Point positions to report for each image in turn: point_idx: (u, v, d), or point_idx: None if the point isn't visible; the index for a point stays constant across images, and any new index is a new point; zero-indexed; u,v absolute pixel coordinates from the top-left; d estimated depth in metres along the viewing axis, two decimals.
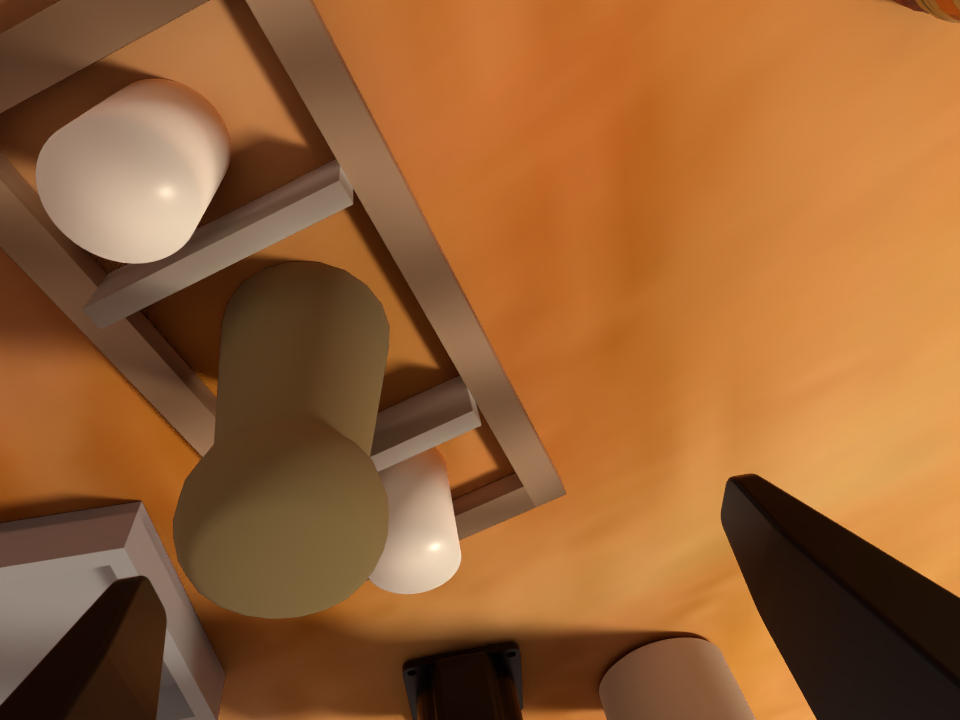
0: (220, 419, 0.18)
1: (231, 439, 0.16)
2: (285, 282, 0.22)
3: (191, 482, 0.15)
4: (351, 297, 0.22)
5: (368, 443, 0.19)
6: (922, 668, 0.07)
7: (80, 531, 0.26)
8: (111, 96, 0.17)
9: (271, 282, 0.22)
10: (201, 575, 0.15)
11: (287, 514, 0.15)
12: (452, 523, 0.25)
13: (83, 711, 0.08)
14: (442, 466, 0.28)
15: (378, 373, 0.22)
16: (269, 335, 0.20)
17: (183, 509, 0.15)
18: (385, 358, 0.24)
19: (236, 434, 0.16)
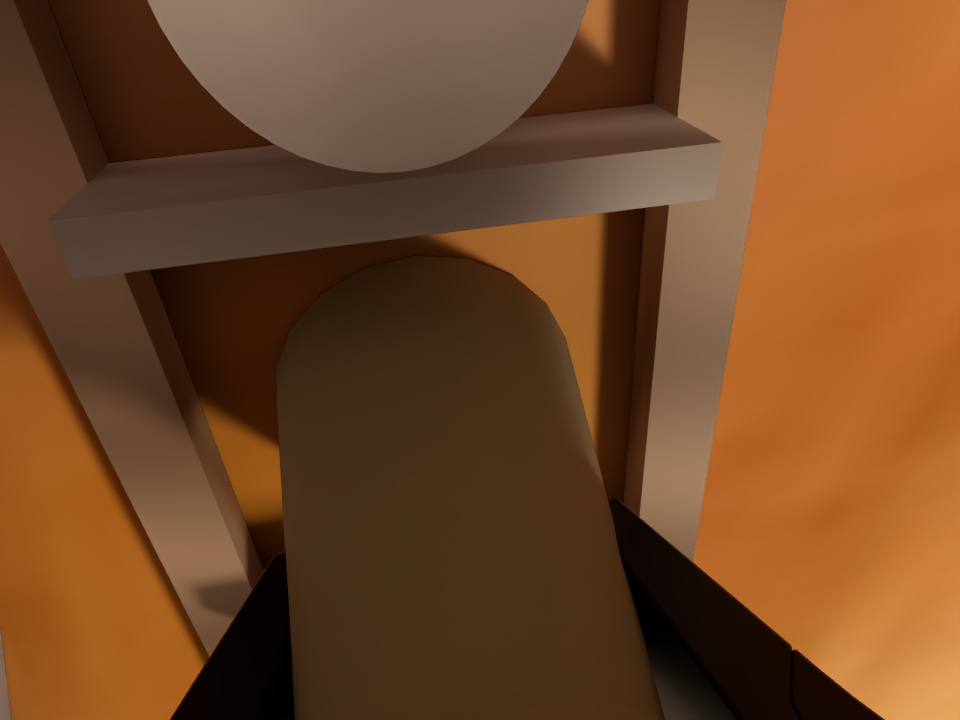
0: (354, 608, 0.07)
1: None
2: (469, 297, 0.11)
3: None
4: (565, 358, 0.12)
5: None
6: (722, 708, 0.07)
7: None
8: None
9: (439, 288, 0.11)
10: None
11: None
12: None
13: (280, 674, 0.08)
14: None
15: None
16: (468, 410, 0.09)
17: None
18: None
19: None
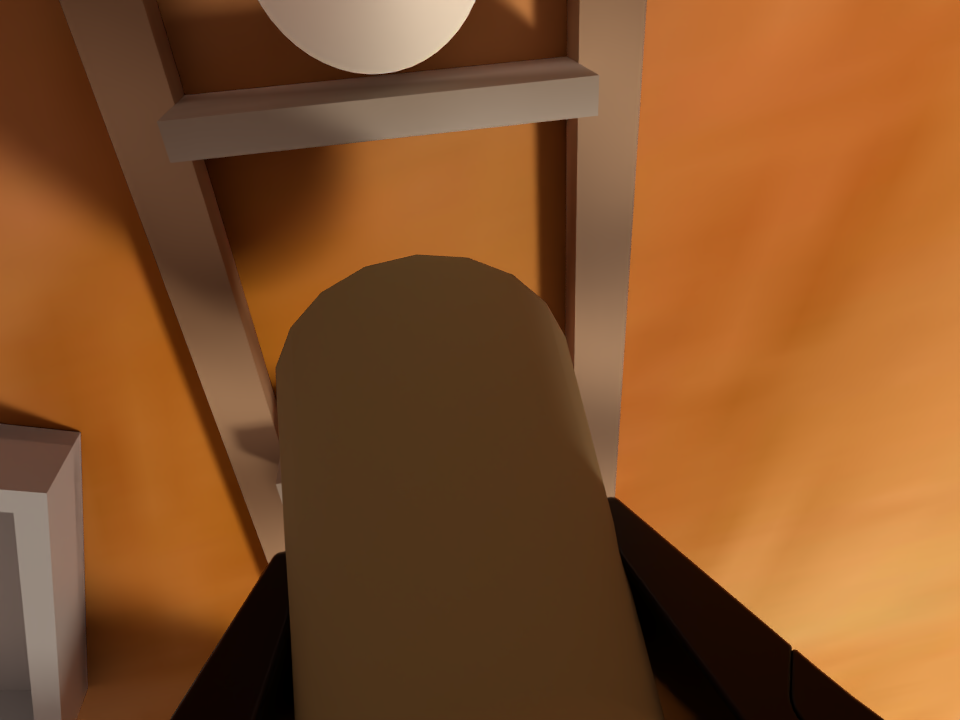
0: (354, 606, 0.07)
1: None
2: (469, 296, 0.11)
3: None
4: (565, 358, 0.12)
5: None
6: (722, 708, 0.07)
7: None
8: None
9: (439, 287, 0.11)
10: None
11: None
12: None
13: (280, 674, 0.08)
14: None
15: None
16: (468, 409, 0.09)
17: None
18: None
19: None
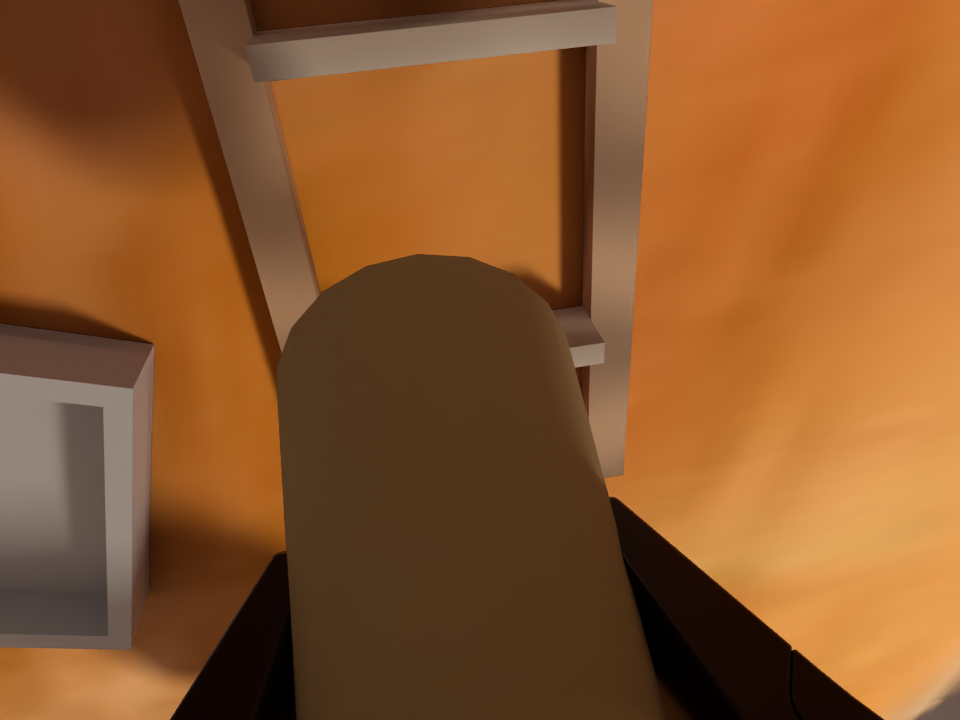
0: (355, 606, 0.07)
1: None
2: (470, 296, 0.11)
3: None
4: (566, 357, 0.12)
5: None
6: (722, 709, 0.07)
7: (71, 355, 0.20)
8: None
9: (440, 287, 0.11)
10: None
11: None
12: None
13: (280, 675, 0.08)
14: None
15: None
16: (469, 408, 0.09)
17: None
18: None
19: None
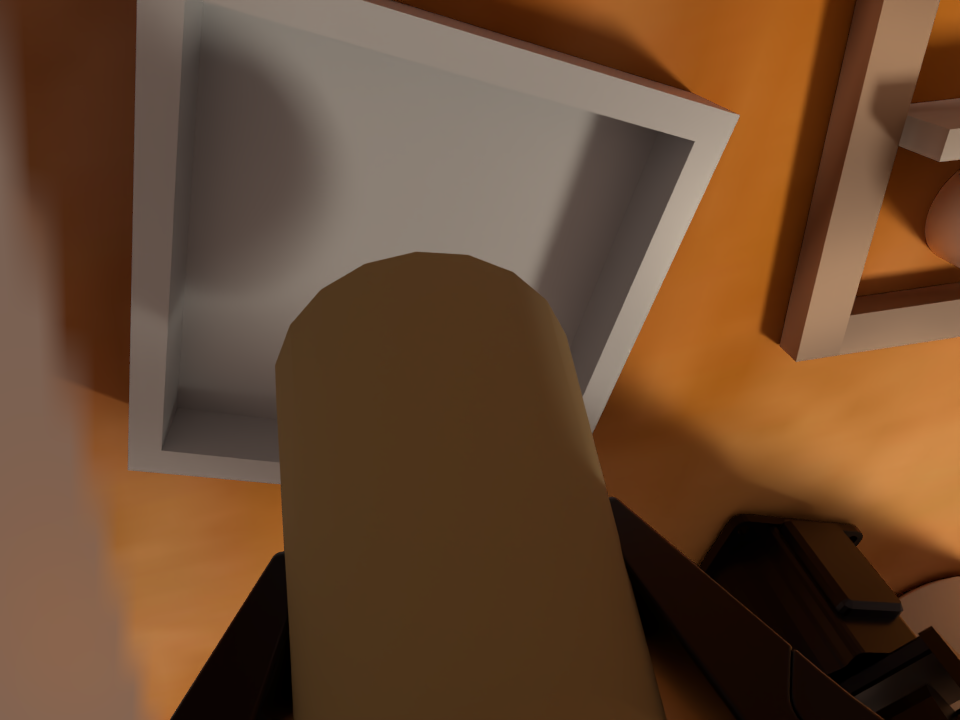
0: (353, 604, 0.07)
1: None
2: (469, 293, 0.11)
3: None
4: (565, 355, 0.12)
5: None
6: (722, 709, 0.07)
7: (642, 81, 0.16)
8: None
9: (439, 284, 0.11)
10: None
11: None
12: None
13: (280, 674, 0.08)
14: None
15: None
16: (468, 405, 0.09)
17: None
18: None
19: None
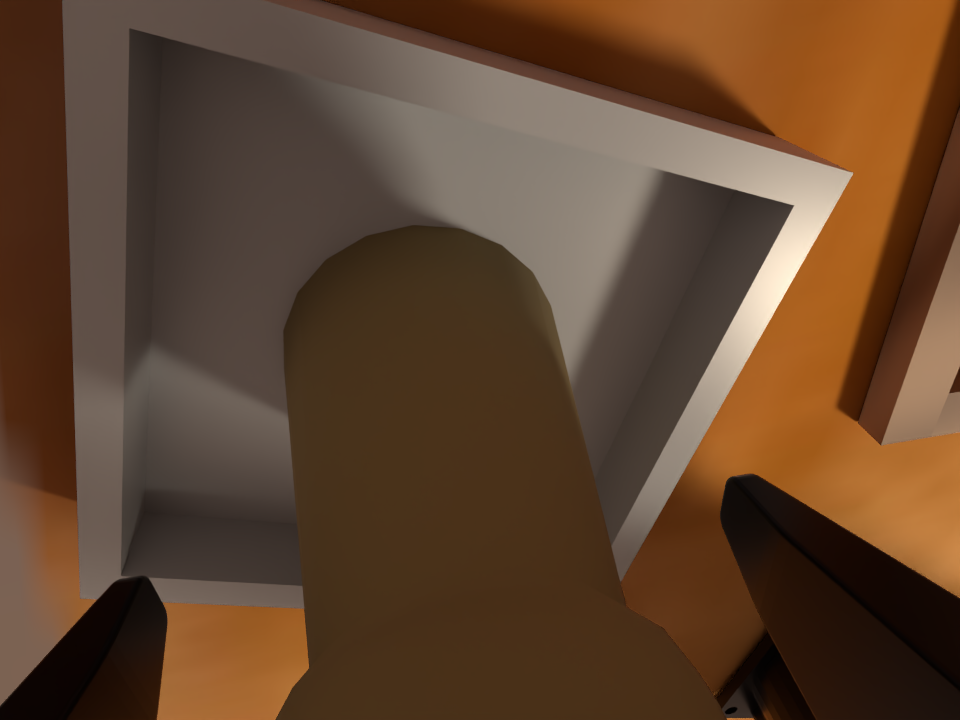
0: (358, 512, 0.08)
1: (489, 629, 0.06)
2: (461, 261, 0.12)
3: None
4: (549, 320, 0.13)
5: None
6: (921, 668, 0.07)
7: (725, 127, 0.12)
8: None
9: (434, 253, 0.12)
10: None
11: None
12: None
13: (84, 711, 0.08)
14: None
15: None
16: (459, 353, 0.10)
17: None
18: None
19: (492, 612, 0.06)
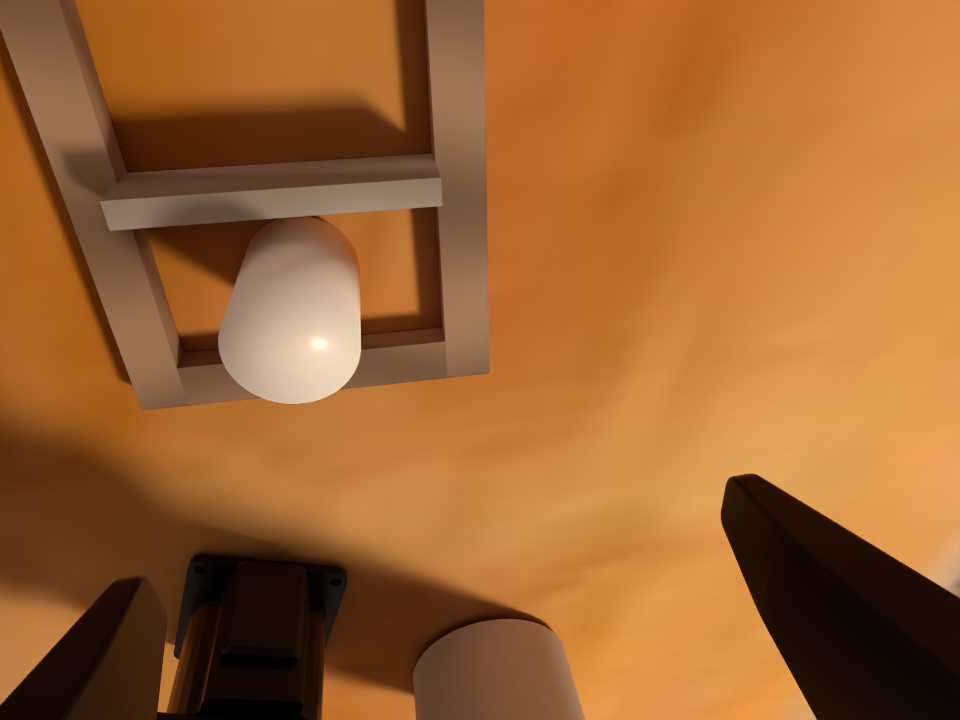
0: None
1: None
2: None
3: None
4: None
5: None
6: (922, 668, 0.07)
7: None
8: None
9: None
10: None
11: None
12: (359, 320, 0.18)
13: (83, 711, 0.08)
14: (358, 270, 0.21)
15: None
16: None
17: None
18: None
19: None
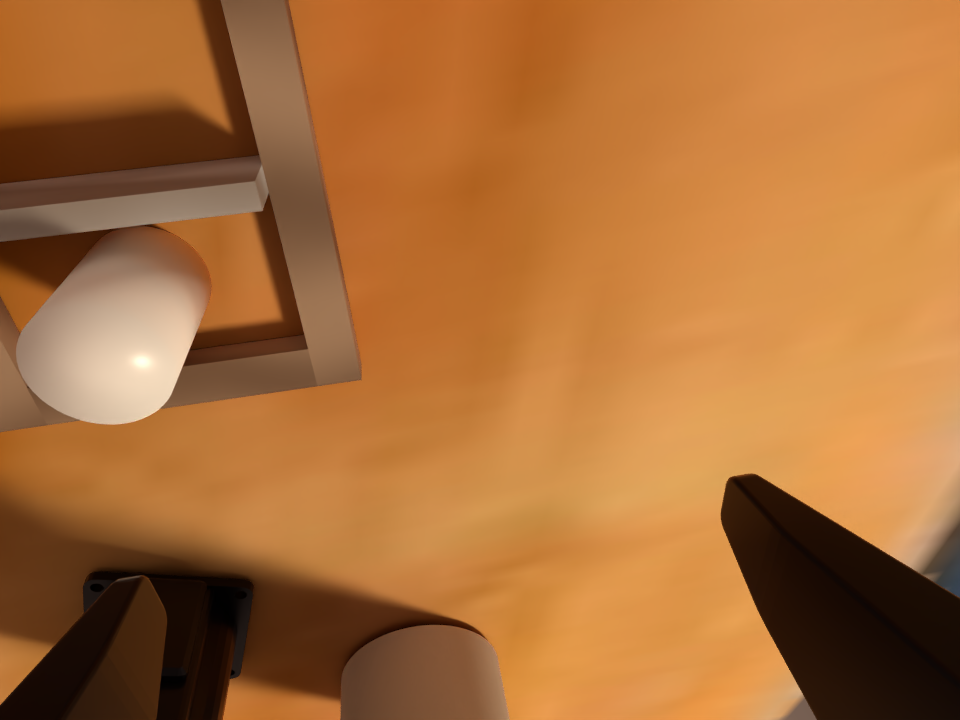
0: None
1: None
2: None
3: None
4: None
5: None
6: (922, 668, 0.07)
7: None
8: None
9: None
10: None
11: None
12: (179, 335, 0.17)
13: (83, 711, 0.08)
14: (201, 280, 0.20)
15: None
16: None
17: None
18: None
19: None
